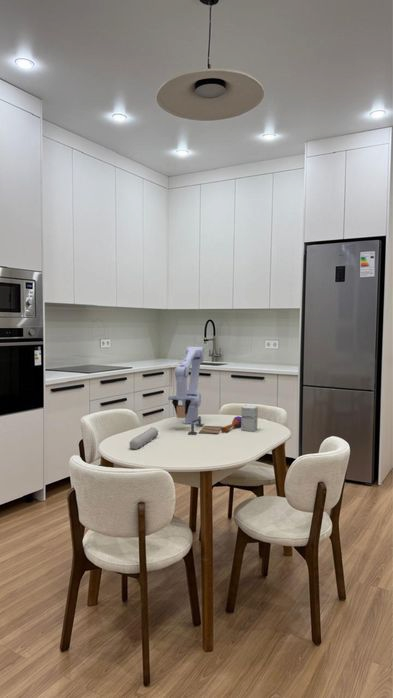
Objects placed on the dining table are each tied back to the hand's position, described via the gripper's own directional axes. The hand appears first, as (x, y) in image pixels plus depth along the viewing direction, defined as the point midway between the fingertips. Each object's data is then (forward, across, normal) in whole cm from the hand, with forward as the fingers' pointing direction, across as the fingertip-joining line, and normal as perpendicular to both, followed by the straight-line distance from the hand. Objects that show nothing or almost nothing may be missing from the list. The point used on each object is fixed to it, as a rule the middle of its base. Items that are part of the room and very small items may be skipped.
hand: (181, 413), depth 255 cm
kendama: (+9, +27, +6) cm, 29 cm away
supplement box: (+8, +36, +6) cm, 37 cm away
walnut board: (+8, +16, 0) cm, 18 cm away
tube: (+9, -11, -33) cm, 36 cm away
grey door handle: (+8, +8, 0) cm, 12 cm away
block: (+2, 0, 0) cm, 2 cm away
